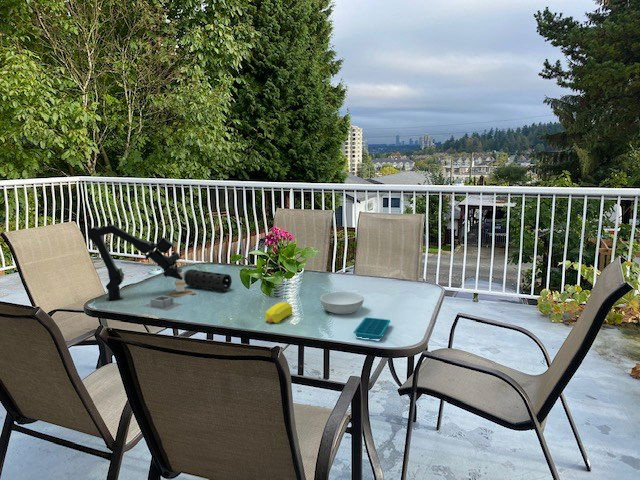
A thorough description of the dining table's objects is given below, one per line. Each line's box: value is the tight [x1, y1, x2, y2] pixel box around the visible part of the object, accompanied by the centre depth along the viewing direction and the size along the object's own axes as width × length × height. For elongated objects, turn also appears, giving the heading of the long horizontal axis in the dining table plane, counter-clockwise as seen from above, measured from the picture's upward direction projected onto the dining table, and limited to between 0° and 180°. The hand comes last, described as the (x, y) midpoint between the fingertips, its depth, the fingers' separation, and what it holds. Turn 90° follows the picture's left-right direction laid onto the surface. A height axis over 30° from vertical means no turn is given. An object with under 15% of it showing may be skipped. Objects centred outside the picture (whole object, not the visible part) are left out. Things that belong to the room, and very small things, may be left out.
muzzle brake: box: [184, 268, 232, 293], centre depth 262 cm, size 10×28×10 cm, turn 64°
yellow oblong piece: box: [264, 301, 294, 324], centre depth 214 cm, size 18×7×8 cm
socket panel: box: [142, 295, 183, 312], centre depth 230 cm, size 16×11×4 cm
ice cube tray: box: [353, 316, 391, 339], centre depth 197 cm, size 12×20×3 cm, turn 160°
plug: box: [174, 267, 186, 291], centre depth 251 cm, size 5×5×12 cm
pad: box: [165, 288, 197, 298], centre depth 252 cm, size 12×12×1 cm
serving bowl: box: [319, 291, 365, 315], centre depth 224 cm, size 21×21×7 cm
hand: (182, 278), depth 251 cm, fingers closed on plug, 4 cm apart
